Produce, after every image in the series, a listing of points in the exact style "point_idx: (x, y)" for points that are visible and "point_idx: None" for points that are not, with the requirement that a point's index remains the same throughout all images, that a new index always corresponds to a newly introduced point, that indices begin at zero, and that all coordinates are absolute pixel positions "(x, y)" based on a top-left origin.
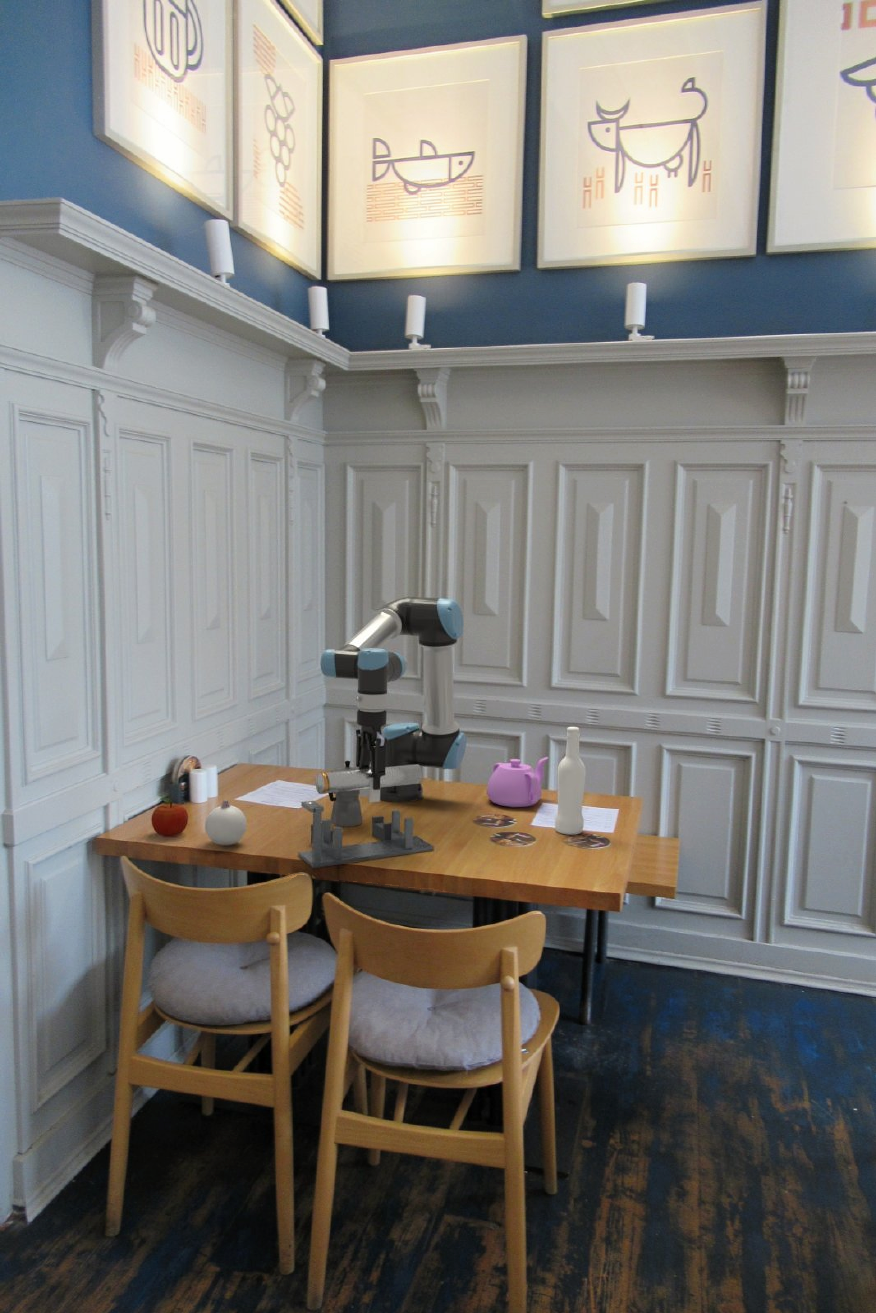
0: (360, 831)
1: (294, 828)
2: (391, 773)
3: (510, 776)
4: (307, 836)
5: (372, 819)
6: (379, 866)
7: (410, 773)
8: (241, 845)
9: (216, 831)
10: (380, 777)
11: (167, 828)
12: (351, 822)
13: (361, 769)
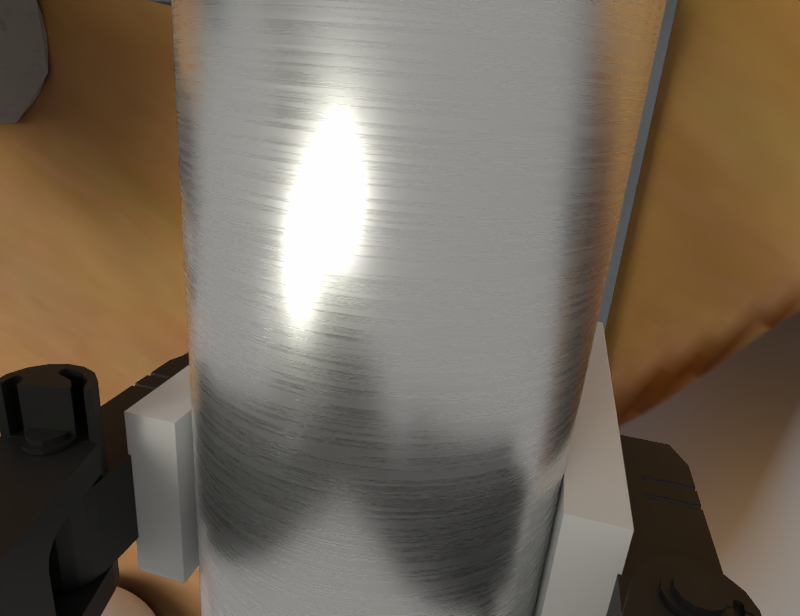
0: (144, 48)
1: (17, 318)
2: (597, 183)
3: None
4: (138, 334)
5: (163, 3)
6: (748, 304)
7: None
8: (162, 584)
9: None
10: (630, 512)
11: None
12: (28, 44)
13: (114, 584)
